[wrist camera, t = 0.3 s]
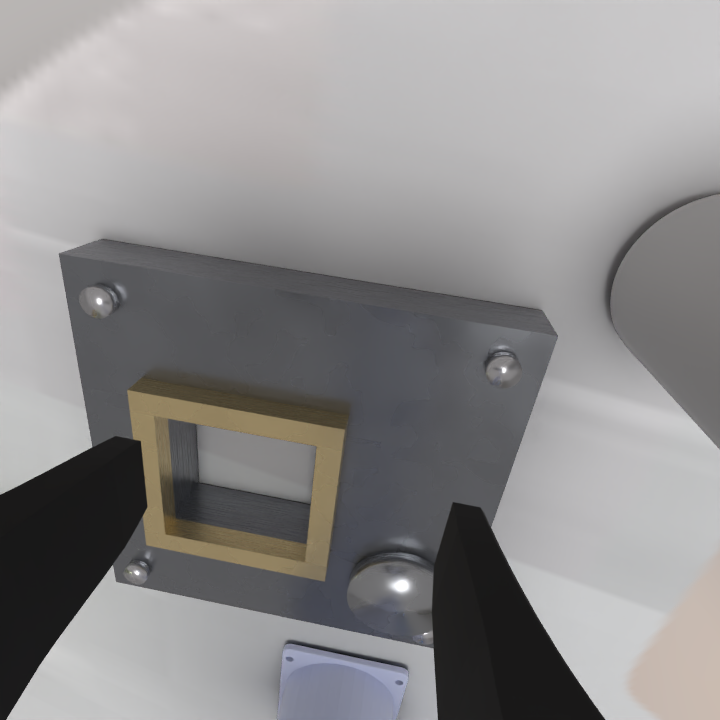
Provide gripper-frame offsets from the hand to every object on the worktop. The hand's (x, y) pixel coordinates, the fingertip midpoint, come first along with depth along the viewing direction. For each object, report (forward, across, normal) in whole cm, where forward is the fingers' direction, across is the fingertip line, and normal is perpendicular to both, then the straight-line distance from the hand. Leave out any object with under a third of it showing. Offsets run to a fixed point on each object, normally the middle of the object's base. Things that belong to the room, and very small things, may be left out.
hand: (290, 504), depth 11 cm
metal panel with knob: (+10, +2, +7) cm, 12 cm away
